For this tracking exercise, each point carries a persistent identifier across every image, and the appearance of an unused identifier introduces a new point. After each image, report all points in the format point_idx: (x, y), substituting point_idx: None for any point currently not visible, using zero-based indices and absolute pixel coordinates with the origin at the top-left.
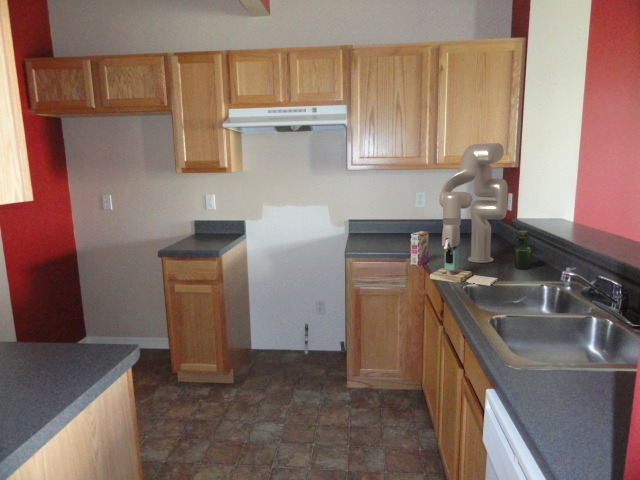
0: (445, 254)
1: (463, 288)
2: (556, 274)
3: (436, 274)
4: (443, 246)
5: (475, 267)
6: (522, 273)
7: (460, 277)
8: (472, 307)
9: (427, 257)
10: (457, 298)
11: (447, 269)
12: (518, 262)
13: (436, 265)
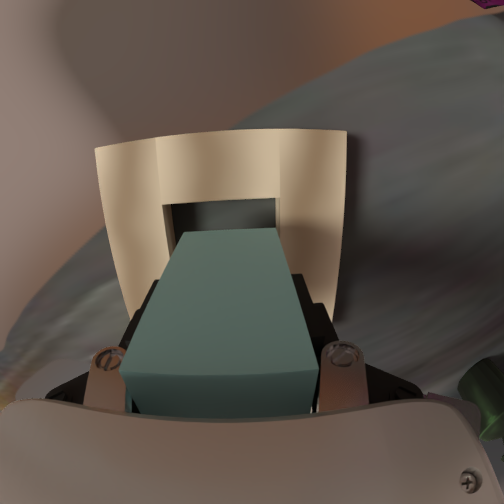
0: (144, 325)
1: (89, 359)
2: None
3: (120, 188)
4: (58, 409)
5: (484, 260)
6: None
7: None
8: (10, 394)
9: (497, 1)
10: (12, 362)
11: (321, 185)
12: (471, 393)
13: (463, 54)
